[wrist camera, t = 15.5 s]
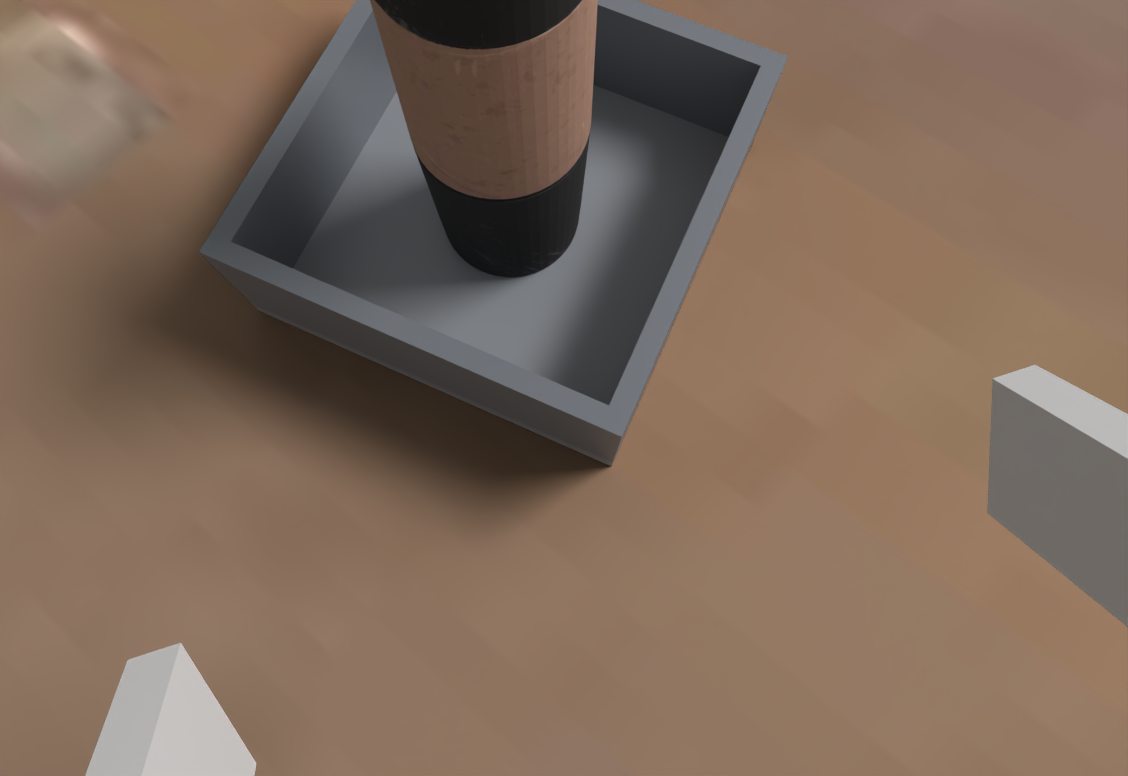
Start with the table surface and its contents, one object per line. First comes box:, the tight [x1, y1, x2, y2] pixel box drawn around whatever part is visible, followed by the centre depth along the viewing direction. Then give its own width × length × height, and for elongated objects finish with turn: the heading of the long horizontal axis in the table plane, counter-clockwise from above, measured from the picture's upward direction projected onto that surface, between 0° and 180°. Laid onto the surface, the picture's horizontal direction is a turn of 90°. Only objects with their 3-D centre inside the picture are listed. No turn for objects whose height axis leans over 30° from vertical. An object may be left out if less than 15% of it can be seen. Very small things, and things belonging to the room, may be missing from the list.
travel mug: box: [370, 0, 598, 277], centre depth 32 cm, size 8×8×20 cm
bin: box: [199, 0, 788, 466], centre depth 39 cm, size 20×20×7 cm
